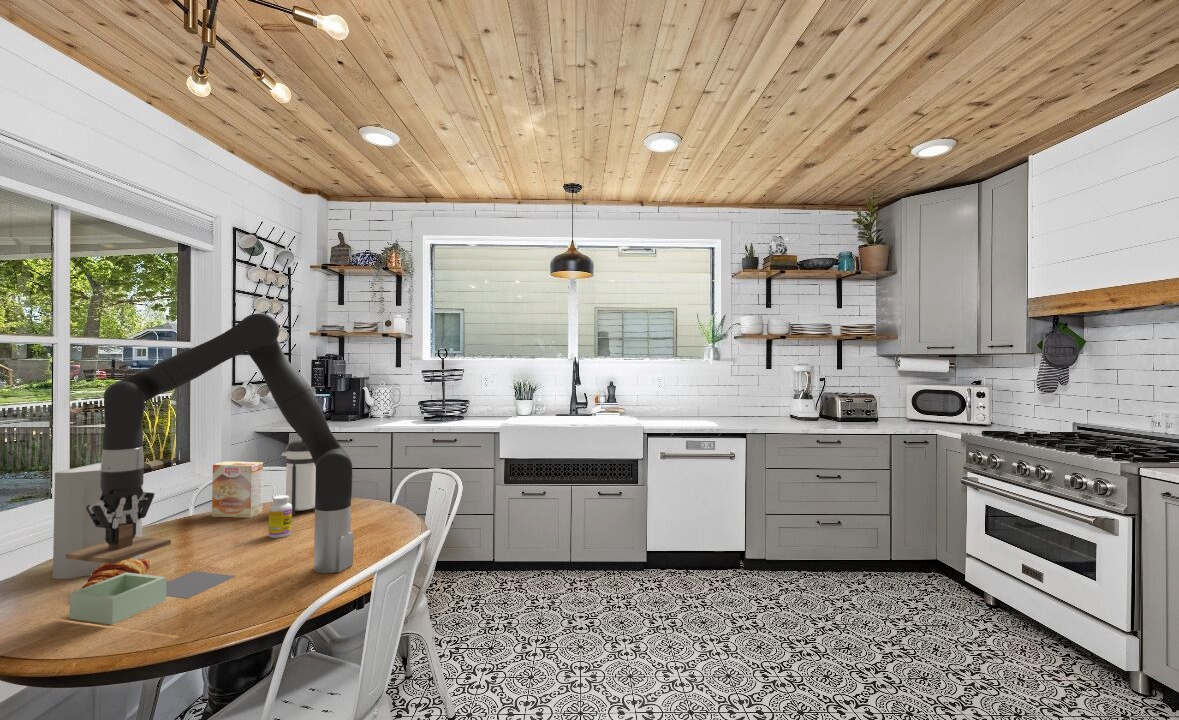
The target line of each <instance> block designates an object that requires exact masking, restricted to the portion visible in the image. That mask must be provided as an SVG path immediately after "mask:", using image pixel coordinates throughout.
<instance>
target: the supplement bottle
mask: <svg viewBox="0 0 1179 720" xmlns="http://www.w3.org/2000/svg"><path fill="white" fill-rule="evenodd" d="M288 501H289V496H287V495H286V494H283V495H281V494H280V495H276V496H273V497H272V502H273V504H271V505H270V506H269V509H268V536H269V538H273V539H280V538H286V537H288V536H290V535H291V534H292V528H293V526H292V523H293V521H292V520H293V516H292V505H291V504H290V503H288Z"/></svg>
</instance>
